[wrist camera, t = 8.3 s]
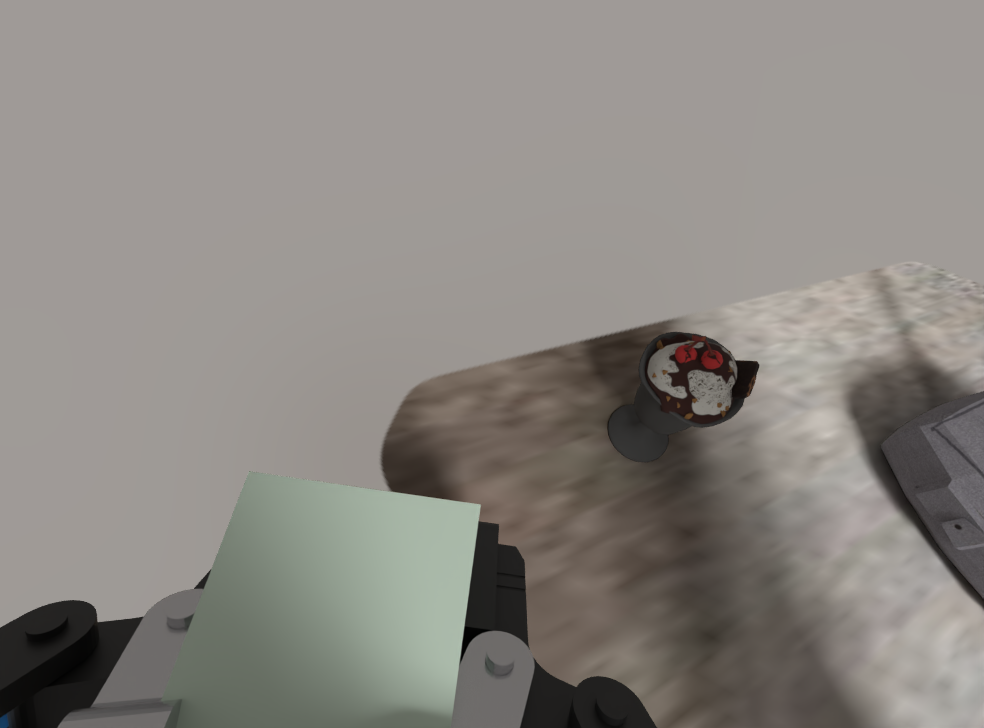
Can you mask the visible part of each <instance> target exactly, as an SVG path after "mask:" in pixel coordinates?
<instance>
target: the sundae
mask: <svg viewBox="0 0 984 728" xmlns="http://www.w3.org/2000/svg"><path fill="white" fill-rule="evenodd" d="M758 369H759V364H758V362H757V361H737V360H735V359H734V357H733V356H732V354H731V352H730V351H728V350H727V349H726V348H725V347H724V346H722V345H721V344H719V343H718V342H717V341H715V340H713V339H710V338H708V337H706V336H701V335H698V334H691V333H682V332H670V333H665V334H662V335H659V336H658V337H656V338H655V339H654V340H653V341H652V342H651V343H650V344H649V345H648V346H647V347H646V349H645V351H644V353H643V355H642V357H641V360H640V365H639V376H640V379H641V384H640V386H639V388H638V390H637V393H636V397H635V401H634V405H631V404H630V405H626V406H623V407H620V408H619V409H617V410H616V411H615V412H614V413H613V414H612V416H611V418H610V420H609V423H608V432H609V437H610V439H611V442H612V443H613V445H614V447H615V448H616V449H617V450H618V451H619V452H620V453H621V454H622V455H623V456H625V457H627V458H629V459H631V460H634V461H638V462H649V461H653V460H655V459H658V458H659V457H660V456H661V455H662V454H663V453H664V452H665V450H666V448H667V445H668V435H669V434H673V433H676V432H679V431H682V430H685V429H687V428H689V427H691V426H694V427H709V426H714V425H717V424H720V423H722V422H724V421H726V420H728V419H730V418H732V417H733V416H734V415H735V414H736V413H737V412H738V411H739V410H740V408H741V407H742V405H743V402H744V399H745V398H746V397H748V396H749V395H750V394H751V392H752V389H753V386H754V384H755V380H756V375H757V371H758Z"/></svg>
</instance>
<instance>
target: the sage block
mask: <svg viewBox="0 0 984 728" xmlns="http://www.w3.org/2000/svg"><path fill="white" fill-rule="evenodd" d="M480 506H481V505H480V504H473V503H466V502H459V501H452V500H445V499H438V498H431V497H424V496H417V495H410V494H403V493H396V492H389V491H382V490H375V489H369V488H362V487H354V486H348V485H341V484H334V483H327V482H320V481H313V480H305V479H299V478H292V477H284V476H278V475H271V474H264V473H257V472H251V471H249V473H248V476H247V478H246V481H245V483H244V486H243V489H242V491H241V494H240V497H239V499H238V502H237V504H236V507H235V510H234V512H233V515H232V517H231V520H230V522H229V525H228V528H227V530H226V533H225V535H224V538H223V541H222V543H221V546H220V548H219V551H218V554H217V556H216V559H215V562H214V564H213V567H212V569H211V572H210V574H209V577H208V580H207V582H206V585H205V587H204V590H203V593H202V595H201V598H200V600H199V603H198V606H197V608H196V611H195V613H194V616H193V619H192V621H191V624H190V626H189V629H188V632H187V634H186V637H185V639H184V642H183V645H182V647H181V650H180V652H179V655H178V658H177V660H176V663H175V665H174V668H173V671H172V673H171V676H170V678H169V681H168V684H167V686H166V689H165V691H164V694H163V696H162V699H161V701H165V700H175V699H182V702H181V707H180V712H179V717H178V722H177V727H176V728H451V722H452V715H453V707H454V700H455V692H456V685H457V677H458V670H459V663H460V655H461V648H462V640H463V633H464V625H465V618H466V610H467V603H468V595H469V588H470V581H471V573H472V566H473V558H474V551H475V543H476V536H477V528H478V521H479V514H480Z"/></svg>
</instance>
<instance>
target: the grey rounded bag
mask: <svg viewBox="0 0 984 728" xmlns="http://www.w3.org/2000/svg"><path fill="white" fill-rule="evenodd" d="M881 449H882V451H883V453H884V455H885V457H886V459H887V461H888V463H889V465H890V467H891V469H892V470H893V472H894V474H895V476H896V478H897V480H898V482H899V484H900V486H901V488H902V490H903V492H904V494H905V496H906V497H907V499H908V501H909V502H910V504H911V505H912V507H913V508H914V510H915V511H916V513H917V514H918V516H919V517H920V519H921V520H922V522H923V524H924V525H925V527H926V528H927V530H928V531H929V533H930V534H931V536H932V537H933V539H934V540H935V542H936V543H937V545H938V546H939V548H940V549H941V550H942V552H943V553H944V554H945V555H946V556H947V557H948V559H949V560H950V561H951V562H952V563H953V564H954V566H955V567H956V568H957V569H958V570H959V571H960V572H961V574H962V575H963V576H964V577H965V578H966V579H967V581H968V582H969V583H970V584H971V585H972V586H973V587H974V589H975V590H976V591H977V592H978V593H979V594H980V596H981V597H982V598H983V599H984V391H983V392H980V393H976V394H973V395H970V396H966V397H963V398H960V399H957V400H954V401H951V402H947V403H944V404H941V405H939V406H937V407H935V408H933V409H931V410H929V411H927V412H926V413H924V414H922V415H920V416H918V417H916V418H914V419H912V420H911V421H909V422H908V423H906V424H904V425H903V426H901V427H900V428H898V429H897V430H896V431H895V432H894V433H893V434H892V435H891V436H889V437H888V438H887V439H886V440H885V441H884V442H883V443H882V445H881Z"/></svg>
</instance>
